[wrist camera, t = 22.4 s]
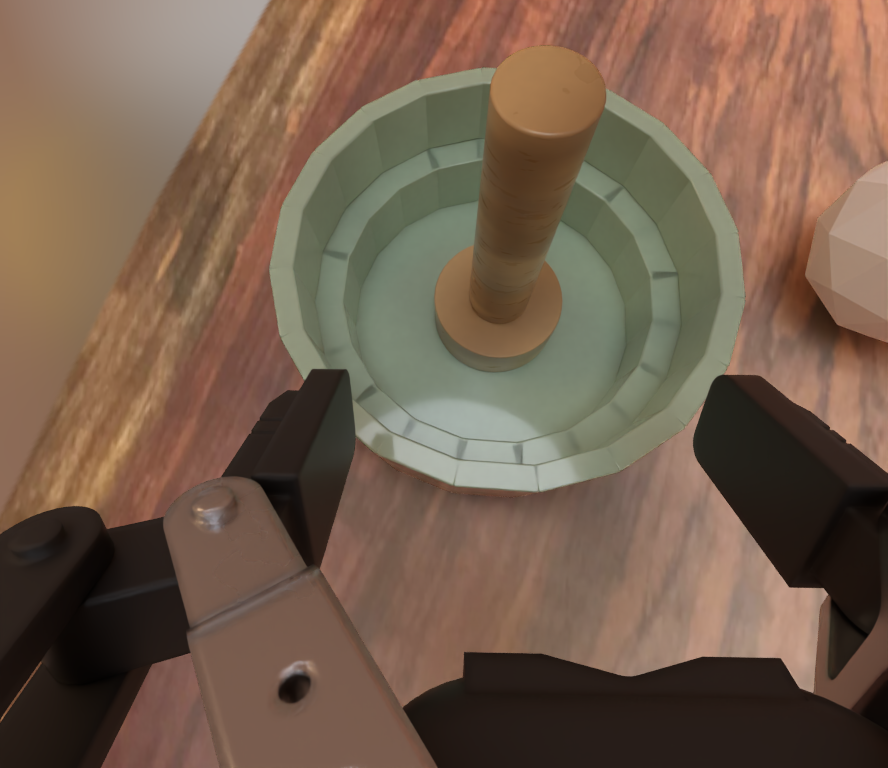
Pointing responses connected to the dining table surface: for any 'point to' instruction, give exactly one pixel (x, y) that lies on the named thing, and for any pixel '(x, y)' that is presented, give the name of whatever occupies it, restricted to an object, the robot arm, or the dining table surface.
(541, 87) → the wooden peg on base
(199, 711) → the dining table surface
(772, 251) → the dining table surface
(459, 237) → the bowl
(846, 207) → the geometric ball
